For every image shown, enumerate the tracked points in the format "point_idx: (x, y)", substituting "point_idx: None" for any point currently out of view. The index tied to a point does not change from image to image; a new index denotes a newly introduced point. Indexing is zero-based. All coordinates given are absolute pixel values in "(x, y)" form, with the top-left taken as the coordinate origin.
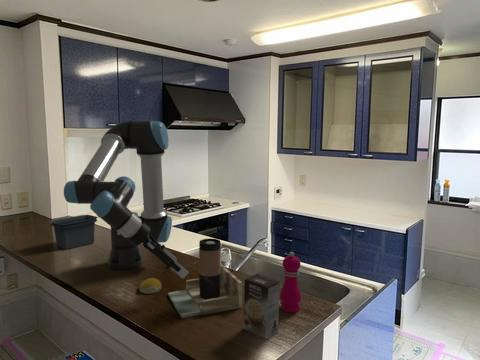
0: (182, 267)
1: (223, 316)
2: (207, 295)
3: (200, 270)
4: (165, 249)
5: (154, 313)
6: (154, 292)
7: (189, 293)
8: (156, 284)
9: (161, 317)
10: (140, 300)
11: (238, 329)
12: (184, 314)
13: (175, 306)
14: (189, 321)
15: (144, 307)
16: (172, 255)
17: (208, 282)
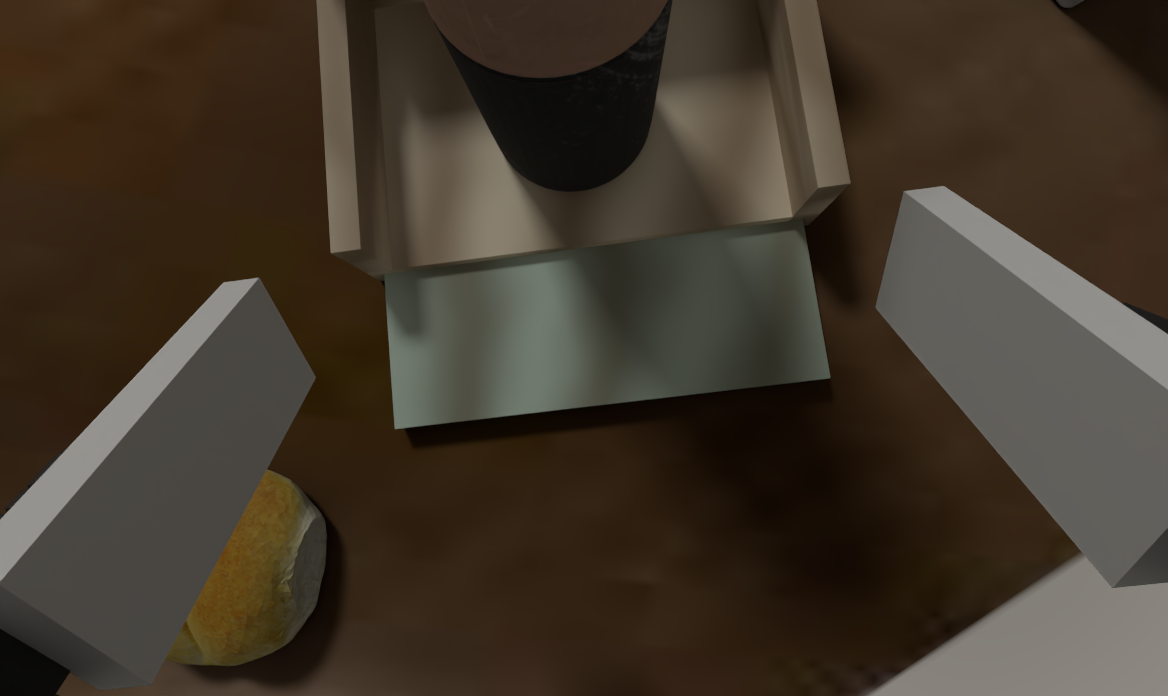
0: (1048, 263)
1: (861, 96)
2: (646, 129)
3: (585, 33)
4: (30, 563)
5: (691, 568)
6: (323, 532)
7: (466, 262)
8: (262, 523)
9: (770, 523)
10: (429, 659)
11: (1063, 43)
12: (821, 355)
13: (641, 400)
14: (881, 332)
15: (566, 637)
16: (195, 367)
17: (664, 43)
